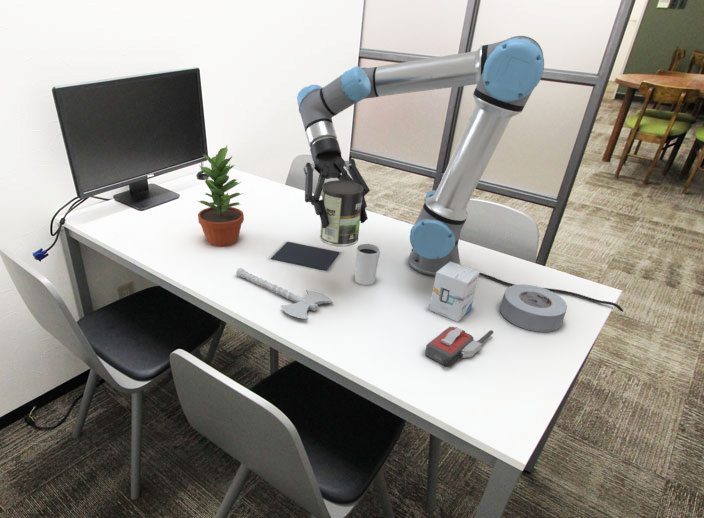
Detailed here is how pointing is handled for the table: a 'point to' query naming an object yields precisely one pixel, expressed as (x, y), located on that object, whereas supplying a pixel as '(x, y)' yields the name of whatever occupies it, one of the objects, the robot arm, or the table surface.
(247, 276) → the axe
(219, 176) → the potted plant
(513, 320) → the tape roll
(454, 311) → the ink box
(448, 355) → the walkie-talkie
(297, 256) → the felt pad
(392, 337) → the table surface
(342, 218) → the coffee can
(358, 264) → the white coffee cup
